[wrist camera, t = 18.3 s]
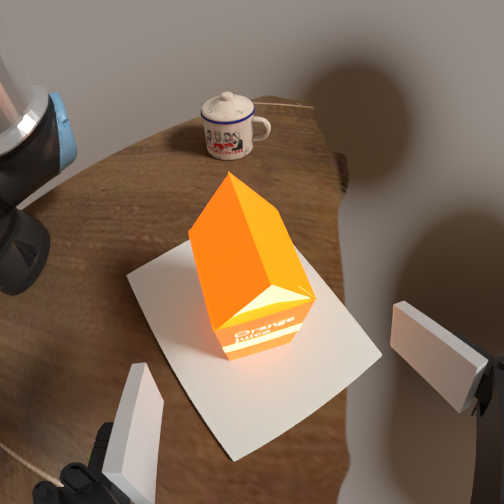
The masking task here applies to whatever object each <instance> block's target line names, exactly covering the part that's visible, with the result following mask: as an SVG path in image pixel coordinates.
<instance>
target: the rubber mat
mask: <svg viewBox="0 0 504 504" xmlns="http://www.w3.org/2000/svg"><path fill="white" fill-rule="evenodd" d="M293 246H294V245H293ZM294 248H295V250H296V253H297V255H298V257H299V260H300V262H301V264H302V266H303V269H304V271H305V273H306V276H307V278H308V280H309V282H310V285H311V287H312V290H313V292H314V294H315V297H316V299H317V300H316V299H315V302H314V304H313V305H312V307H311V309H310V311H309V312H308V314H307V316H306V318H305V319H304V321H303V324H302V325H301V327H300V329H299V330H298V331H297V333H296V334H295V336H294V338H293V339H292V341H291V342H290V343H287V344H284V345H281V346H278V347H275V348H272V349H268V350H265V351H262V352H259V353H256V354H252V355H249V356H246V357H242V358H239V359H235V360H232V361H230V360H229V358H228V356H227V355H226V353H225V352H224V350H223V348H222V345H221V344H220V342H219V340H218V338H217V336H216V334H215V332H213V329H212V326H211V322H210V318H209V315H208V311H207V307H206V303H205V300H204V296H203V292H202V288H201V284H200V280H199V276H198V272H197V268H196V264H195V260H194V255H193V251H192V247H191V242H190V240H188V241H186V242H184V243H182V244H181V245H179V246H177V247H175V248H173V249H172V250H170V251H168V252H166V253H164V254H163V255H161V256H159V257H157V258H155V259H154V260H152V261H150V262H148V263H147V264H145V265H143V266H141V267H140V268H138V269H136V270H134V271H133V272H131V273H129V274H128V275H126V276H127V278H128V280H129V283H130V285H131V287H132V289H133V292H134V294H135V296H136V298H137V300H138V303H139V305H140V307H141V309H142V311H143V313H144V315H145V317H146V319H147V321H148V323H149V325H150V327H151V329H152V331H153V333H154V335H155V337H156V339H157V341H158V343H159V345H160V347H161V349H162V351H163V352H164V354H165V356H166V358H167V360H168V361H169V363H170V365H171V367H172V369H173V370H174V372H175V374H176V376H177V377H178V379H179V381H180V382H181V384H182V386H183V387H184V389H185V391H186V392H187V394H188V396H189V397H190V399H191V400H192V402H193V404H194V405H195V407H196V408H197V410H198V411H199V413H200V414H201V416H202V418H203V419H204V421H205V422H206V424H207V425H208V426H209V428H210V429H211V431H212V432H213V434H214V435H215V437H216V438H217V439H218V441H219V442H220V444H221V445H222V446H223V448H224V449H225V451H226V452H227V453H228V455H229V456H230V457H231V459H232V460H233V461H236V460H238V459H240V458H242V457H244V456H246V455H247V454H249V453H251V452H253V451H254V450H256V449H258V448H260V447H261V446H263V445H265V444H266V443H268V442H269V441H271V440H273V439H274V438H276V437H278V436H279V435H281V434H282V433H284V432H285V431H287V430H288V429H290V428H291V427H293V426H294V425H296V424H297V423H299V422H300V421H302V420H303V419H305V418H306V417H307V416H309V415H310V414H312V413H313V412H314V411H316V410H317V409H318V408H320V407H321V406H322V405H324V404H325V403H326V402H328V401H329V400H330V399H332V398H333V397H334V396H335V395H337V394H338V393H339V392H341V391H342V390H343V389H344V388H345V387H347V386H348V385H349V384H350V383H351V382H353V381H354V380H355V379H356V378H357V377H359V376H360V375H361V374H362V373H363V372H364V371H365V370H367V369H368V368H369V367H370V366H371V365H372V364H373V363H374V362H376V361H377V360H378V359H379V358H380V357H381V356H382V354H381V352H380V351H379V350H378V349H377V347H376V346H375V345H374V343H373V342H372V341H371V340H370V338H369V337H368V336H367V334H366V333H365V332H364V331H363V329H362V328H361V327H360V325H359V324H358V323H357V322H356V321H355V319H354V318H353V317H352V316H351V314H350V313H349V312H348V310H347V309H346V308H345V307H344V305H343V304H342V303H341V302H340V300H339V299H338V298H337V297H336V296H335V294H334V293H333V292H332V291H331V289H330V288H329V287H328V286H327V284H326V283H325V282H324V281H323V280H322V278H321V277H320V276H319V275H318V274H317V272H316V271H315V270H314V269H313V268H312V266H311V265H310V264H309V263H308V262H307V260H306V259H305V258H304V257H303V256H302V254H301V253H300V252H299V251H298V250H297V248H296V247H295V246H294Z"/></svg>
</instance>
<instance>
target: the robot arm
mask: <svg viewBox="0 0 504 504" xmlns="http://www.w3.org/2000/svg"><path fill="white" fill-rule="evenodd" d="M76 156H77V146H76V142H75V138H74V135H73V132H72V128H71V125H70V123H69V120H68V117H67V113H66V110H65V107H64V104H63V102H62V99H61V97H60V95H59V93H58V92H53V93H49V94H48V93H47V92H46V90H45V89H44V88H43V87H41V86H37V85H31V84H30V82H29V80H28V78H27V76H26V73H25V71H24V69H23V66H22V64H21V62H20V59H19V57H18V54H17V52H16V49H15V47H14V44H13V41H12V39H11V36H10V33H9V30H8V27H7V24H6V22H5V18H4V15H3V12H2V9H1V5H0V290H1V291H2V292H4V293H5V294H7V295H17V294H20V293H22V292H23V291H25V290H26V289H27V288H29V287H30V286H31V285H32V284H33V282H34V281H35V280H36V279H37V277H38V276H39V274H40V273H41V271H42V269H43V267H44V265H45V263H46V260H47V257H48V253H49V248H50V236H49V233H48V230H47V229H46V227H45V226H44V225H43V224H42V223H41V222H40V221H39V220H38V219H37V218H35V217H32V216H30V215H29V214H27V213H25V212H23V211H21V210H19V209H17V208H16V206H17V205H18V204H20V203H21V202H22V201H23V200H25V199H26V198H27V197H28V196H30V195H31V194H32V193H34V192H35V191H36V190H37V189H39V188H40V187H42V186H43V185H44V184H46V183H47V182H48V181H50V180H51V179H53V178H54V177H55V176H57V175H59V174H60V173H61V172H62V170H64V169H65V168H66V167H68V166H69V165H70V164H72V163H73V162H74V160H75V159H76ZM390 346H391V347H392V348H393V349H395V350H396V351H397V352H398V353H399V354H400V355H401V356H402V357H403V358H404V359H405V360H406V361H407V362H408V363H409V364H410V365H411V366H412V367H413V368H414V369H415V370H416V371H417V372H419V374H420V375H421V376H422V377H424V378H425V379H426V380H427V381H428V382H429V383H430V384H431V385H432V386H433V387H434V388H435V389H436V390H437V391H438V392H439V393H440V394H441V395H442V396H443V397H444V398H445V399H446V400H447V401H448V402H449V403H450V404H451V405H452V406H453V407H454V408H455V409H456V410H457V411H458V412H459V413H460V412H462V411H463V410H465V409H466V408H467V407H469V406H470V405H471V402H472V400H473V398H474V396H475V397H476V398H477V399H478V400H477V403H476V405H475V407H474V409H473V411H472V414H471V416H473V415H474V413H475V411H476V417H477V439H476V440H477V441H476V461H475V473H474V482H473V490H472V496H471V503H470V504H504V356H499V357H497V358H494V357H493V356H491V355H490V354H489V353H488V352H486V351H485V350H483V349H482V348H481V347H479V346H478V345H475V343H474V342H472V341H470V340H469V339H468V338H466V337H465V336H464V335H461V334H458V333H455V332H454V333H450V332H449V331H447V330H446V329H445V328H443V327H442V326H440V325H439V324H437V323H436V322H434V321H433V320H432V319H430V318H429V317H427V316H426V315H424V314H423V313H421V312H420V311H418V310H417V309H415V308H414V307H413V306H411V305H410V304H408V303H407V302H405V301H402V302H399V303H397V304H394V305H393V320H392V331H391V341H390ZM163 403H164V401H163V399H162V397H161V395H160V393H159V391H158V388H157V386H156V384H155V382H154V380H153V377H152V375H151V373H150V371H149V368H148V366H147V364H146V362H145V363H136V364H132V366H131V369H130V372H129V375H128V378H127V381H126V384H125V387H124V391H123V394H122V397H121V401H120V404H119V407H118V411H117V414H116V418H115V421H114V422H105V423H104V424H103V425H102V426H101V428H100V429H99V430H98V433H97V436H96V441H95V443H94V446H93V447H94V448H93V450H92V453H91V457H90V460H89V464H88V468H87V467H86V466H85V465H84V464H82V463H71V464H68V465H67V466H65V467H64V468H63V470H62V471H61V474H60V480H61V483H62V484H63V485H64V487H56V486H55V485H54V484H53V483H52V482H49V481H41V482H39V483H37V484H36V485H35V487H34V489H33V494H32V495H33V503H34V504H130V499H131V500H132V501H133V502H134V503H135V504H155V486H156V472H157V459H158V448H159V438H160V428H161V419H162V411H163Z"/></svg>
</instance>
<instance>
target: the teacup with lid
mask: <svg viewBox="0 0 504 504" xmlns="http://www.w3.org/2000/svg"><path fill="white" fill-rule="evenodd" d="M254 110H255V108H254V105H253V103H252V102H251V101H250V100H249V99H248V98H246V97H243V96H239V95H233V94H232V93H231V92H223V93H222V94H221V96H217V97H214V98H212V99H210V100H208V101H207V102H205V104H204V105H203V106H202V109H201V116H202V117H203V123H204V130H205V137H206V144H207V150H208V152H209V153H210V154H211V155H212V156H213V157H215V158H218V159H221V160H235V159H239V158H242V157H244V156H246V155H247V154H248V153H249V152H250V151H251V150H252V147H253V141H261V140H264V139H265V138H267V136H268V135H269V133H270V130H271V126H270V123H269V122H268V121H267V120H266V119H264V118H262V117H256V116H253V113H254ZM253 122H258V123H261V124H263V125H264V126H265V127H266V132H265V133H264V134H262V135H253Z"/></svg>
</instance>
